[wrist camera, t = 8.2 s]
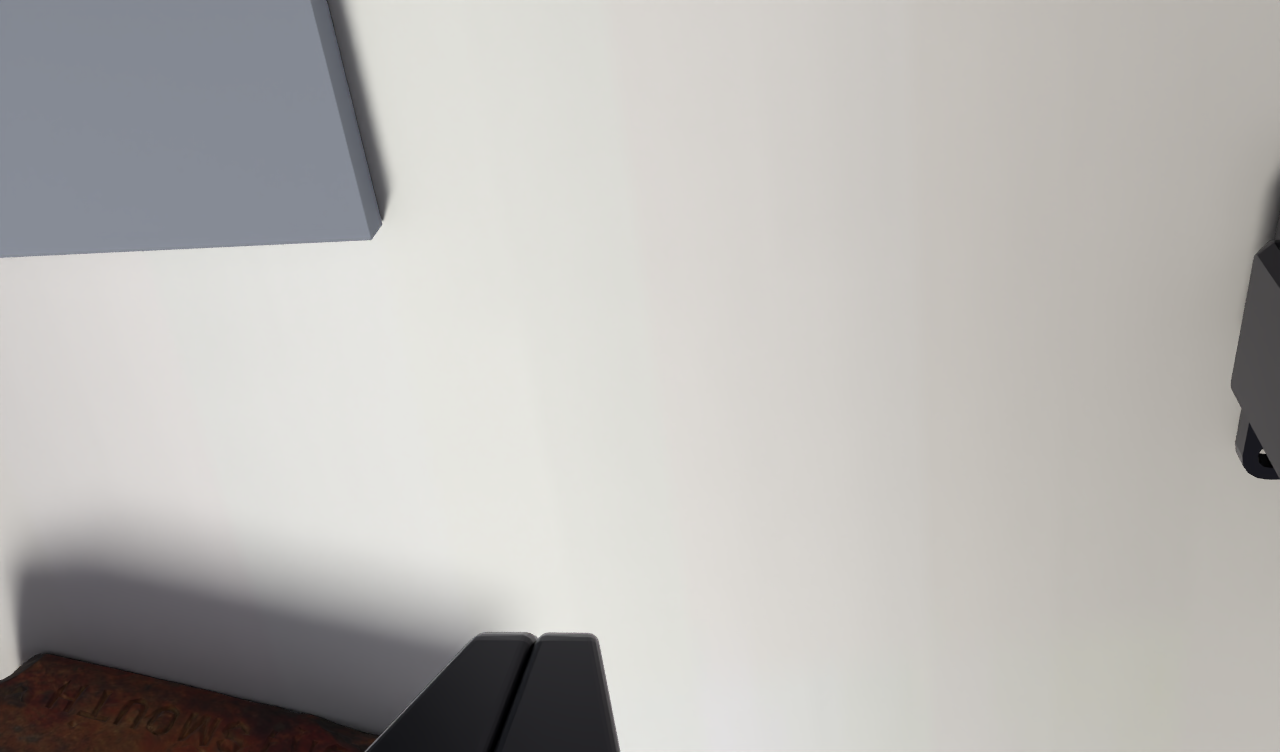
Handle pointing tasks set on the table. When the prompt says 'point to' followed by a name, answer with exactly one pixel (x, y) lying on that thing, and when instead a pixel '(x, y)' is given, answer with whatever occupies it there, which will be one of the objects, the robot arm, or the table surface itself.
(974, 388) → the table surface
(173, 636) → the table surface
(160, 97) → the mat
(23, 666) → the brick
